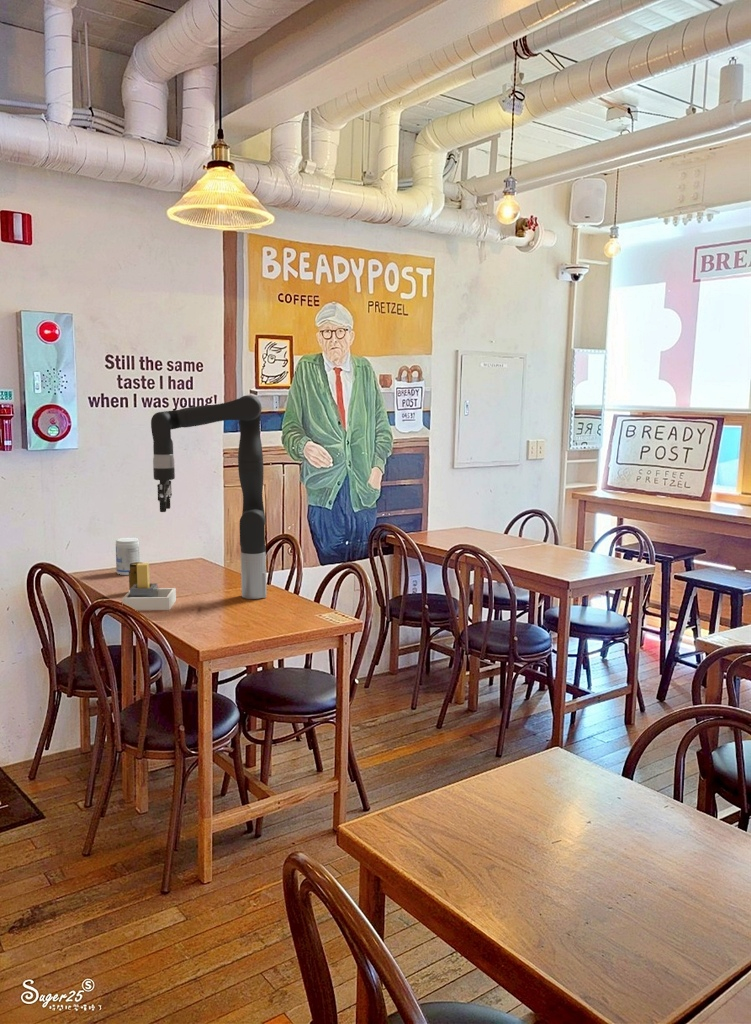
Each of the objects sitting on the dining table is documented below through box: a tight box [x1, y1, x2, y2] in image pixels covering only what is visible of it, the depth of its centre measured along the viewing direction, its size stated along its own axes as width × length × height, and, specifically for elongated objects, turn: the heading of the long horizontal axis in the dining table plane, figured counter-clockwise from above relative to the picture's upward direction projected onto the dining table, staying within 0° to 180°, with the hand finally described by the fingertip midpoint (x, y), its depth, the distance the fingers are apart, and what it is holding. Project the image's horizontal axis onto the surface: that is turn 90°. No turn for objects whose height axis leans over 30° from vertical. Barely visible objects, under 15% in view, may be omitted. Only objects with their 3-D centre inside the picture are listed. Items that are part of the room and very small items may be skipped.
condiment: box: [128, 561, 142, 592], centre depth 308 cm, size 7×8×12 cm
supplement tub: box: [115, 537, 141, 576], centre depth 343 cm, size 10×10×15 cm
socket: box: [130, 582, 158, 597], centre depth 291 cm, size 8×8×7 cm
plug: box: [137, 562, 151, 588], centre depth 290 cm, size 4×4×12 cm
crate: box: [122, 587, 177, 611], centre depth 291 cm, size 16×14×5 cm
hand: (165, 510), depth 300 cm, fingers open, 8 cm apart
